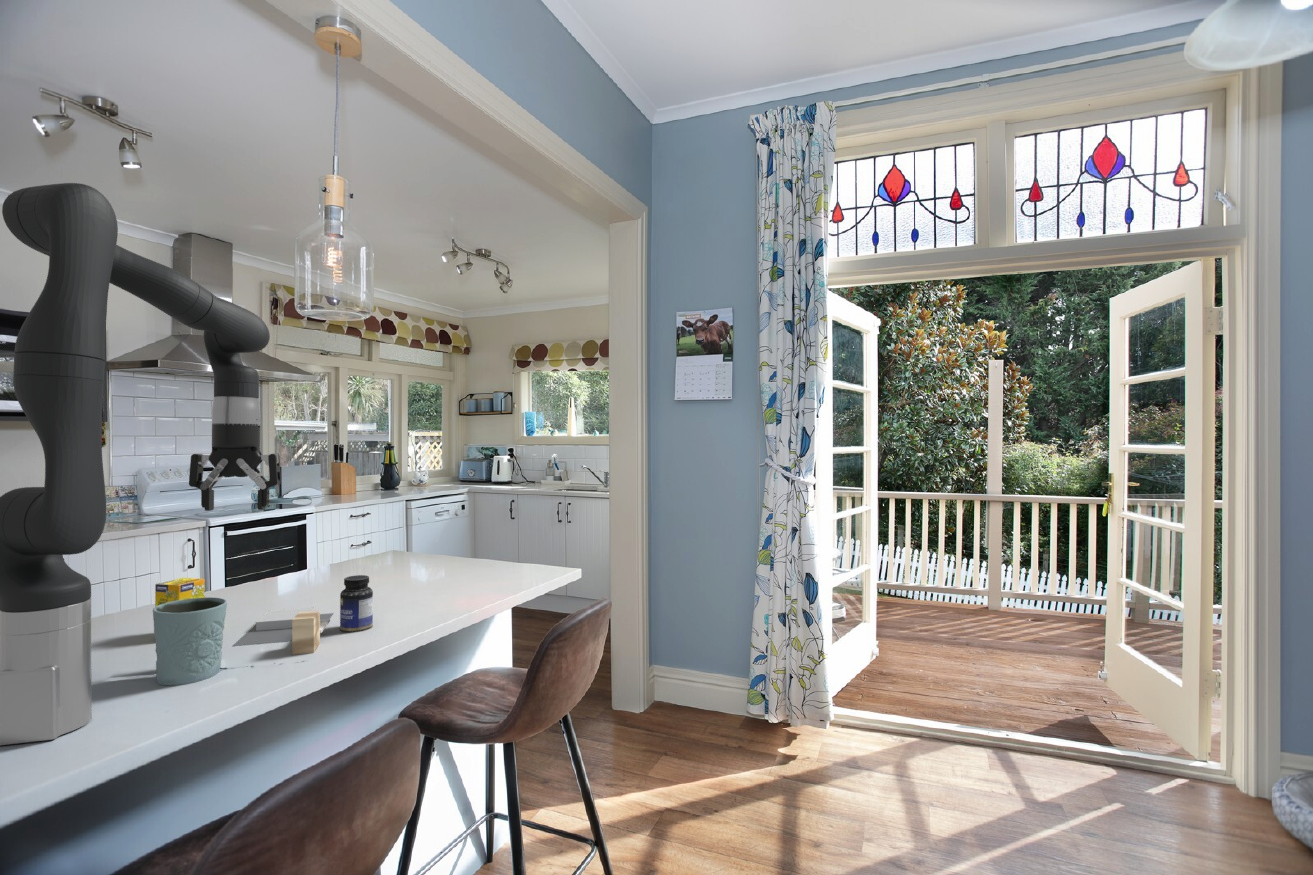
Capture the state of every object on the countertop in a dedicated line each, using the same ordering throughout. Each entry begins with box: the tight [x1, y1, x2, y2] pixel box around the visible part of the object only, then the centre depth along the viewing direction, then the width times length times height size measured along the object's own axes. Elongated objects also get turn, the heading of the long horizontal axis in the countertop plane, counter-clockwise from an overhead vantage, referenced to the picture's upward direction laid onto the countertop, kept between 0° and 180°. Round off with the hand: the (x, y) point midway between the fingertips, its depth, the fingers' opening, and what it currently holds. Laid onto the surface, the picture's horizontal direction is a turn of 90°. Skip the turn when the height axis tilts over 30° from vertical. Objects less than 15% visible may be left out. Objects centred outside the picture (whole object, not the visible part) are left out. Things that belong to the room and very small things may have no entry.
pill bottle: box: [339, 574, 374, 634], centre depth 132 cm, size 6×6×11 cm
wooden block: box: [291, 610, 331, 656], centre depth 123 cm, size 13×4×7 cm, turn 16°
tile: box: [255, 606, 316, 631], centre depth 135 cm, size 2×9×9 cm
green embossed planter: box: [152, 596, 228, 686], centre depth 108 cm, size 10×10×12 cm
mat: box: [232, 612, 334, 647], centre depth 132 cm, size 19×14×1 cm
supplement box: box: [154, 577, 206, 608], centre depth 129 cm, size 6×6×11 cm
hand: (235, 510), depth 118 cm, fingers open, 8 cm apart
